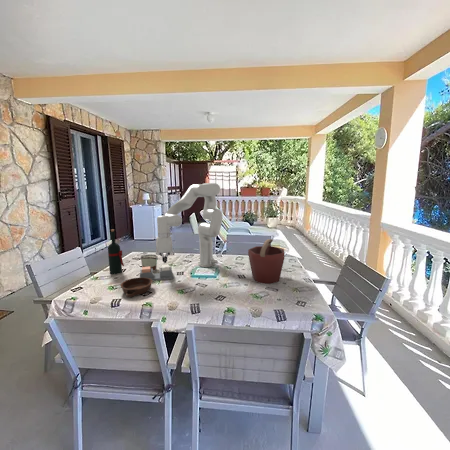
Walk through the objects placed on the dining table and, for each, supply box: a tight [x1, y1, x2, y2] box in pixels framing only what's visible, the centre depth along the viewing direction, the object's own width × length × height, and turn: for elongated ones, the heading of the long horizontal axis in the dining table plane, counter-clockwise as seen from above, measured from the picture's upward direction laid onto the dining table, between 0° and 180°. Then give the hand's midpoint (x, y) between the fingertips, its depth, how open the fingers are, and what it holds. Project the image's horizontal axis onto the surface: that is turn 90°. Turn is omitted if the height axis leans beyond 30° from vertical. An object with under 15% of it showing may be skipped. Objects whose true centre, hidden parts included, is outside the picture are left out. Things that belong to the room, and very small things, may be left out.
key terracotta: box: [141, 266, 151, 273], centre depth 165 cm, size 5×5×3 cm
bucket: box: [247, 238, 285, 285], centre depth 162 cm, size 24×22×25 cm
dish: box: [119, 277, 154, 298], centre depth 147 cm, size 18×22×5 cm
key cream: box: [160, 264, 171, 271], centre depth 168 cm, size 5×5×3 cm
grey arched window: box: [140, 253, 159, 272], centre depth 183 cm, size 12×6×10 cm, turn 84°
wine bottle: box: [107, 229, 125, 275], centre depth 175 cm, size 8×10×30 cm
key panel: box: [138, 266, 174, 281], centre depth 167 cm, size 21×10×5 cm, turn 105°
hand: (165, 262), depth 168 cm, fingers closed
